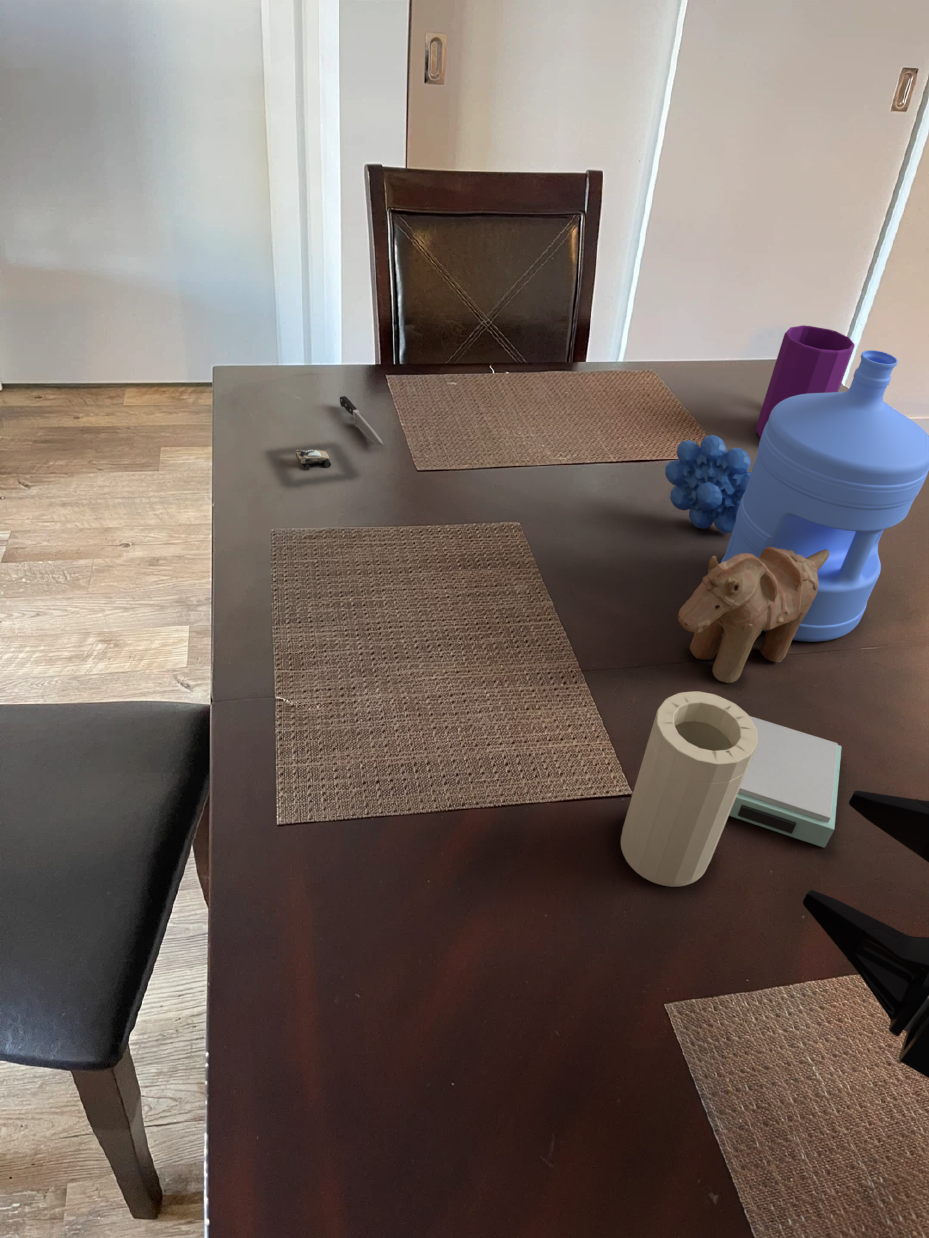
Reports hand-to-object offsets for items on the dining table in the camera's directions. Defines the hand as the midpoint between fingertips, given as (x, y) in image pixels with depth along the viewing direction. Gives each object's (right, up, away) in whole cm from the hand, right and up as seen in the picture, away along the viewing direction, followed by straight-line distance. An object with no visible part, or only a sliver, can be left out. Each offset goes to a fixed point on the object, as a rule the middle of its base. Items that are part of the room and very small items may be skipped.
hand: (829, 843), depth 55 cm
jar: (-6, -5, +18) cm, 19 cm away
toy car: (-41, +33, +60) cm, 80 cm away
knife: (-36, +39, +68) cm, 86 cm away
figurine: (+4, +9, +36) cm, 37 cm away
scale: (+4, -1, +24) cm, 24 cm away
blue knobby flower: (+6, +24, +55) cm, 60 cm away
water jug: (+13, +16, +45) cm, 50 cm away
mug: (+25, +41, +79) cm, 93 cm away
